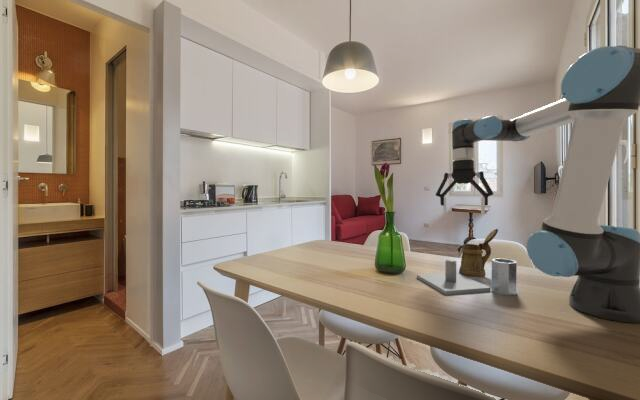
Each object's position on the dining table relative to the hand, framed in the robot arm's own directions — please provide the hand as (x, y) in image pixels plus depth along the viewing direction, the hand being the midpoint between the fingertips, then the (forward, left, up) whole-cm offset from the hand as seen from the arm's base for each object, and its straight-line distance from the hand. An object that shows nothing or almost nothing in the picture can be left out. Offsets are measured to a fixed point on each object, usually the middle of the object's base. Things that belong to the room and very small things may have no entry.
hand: (463, 213), depth 112 cm
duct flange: (-11, +13, -24) cm, 29 cm away
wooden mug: (-2, -5, -24) cm, 24 cm away
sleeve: (-21, +1, -24) cm, 32 cm away
